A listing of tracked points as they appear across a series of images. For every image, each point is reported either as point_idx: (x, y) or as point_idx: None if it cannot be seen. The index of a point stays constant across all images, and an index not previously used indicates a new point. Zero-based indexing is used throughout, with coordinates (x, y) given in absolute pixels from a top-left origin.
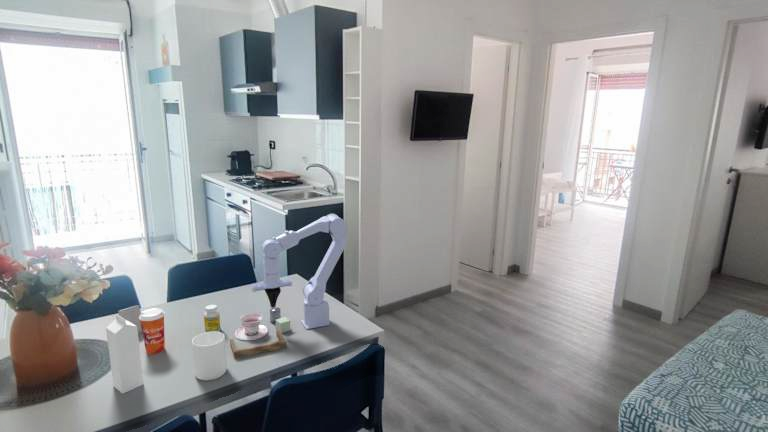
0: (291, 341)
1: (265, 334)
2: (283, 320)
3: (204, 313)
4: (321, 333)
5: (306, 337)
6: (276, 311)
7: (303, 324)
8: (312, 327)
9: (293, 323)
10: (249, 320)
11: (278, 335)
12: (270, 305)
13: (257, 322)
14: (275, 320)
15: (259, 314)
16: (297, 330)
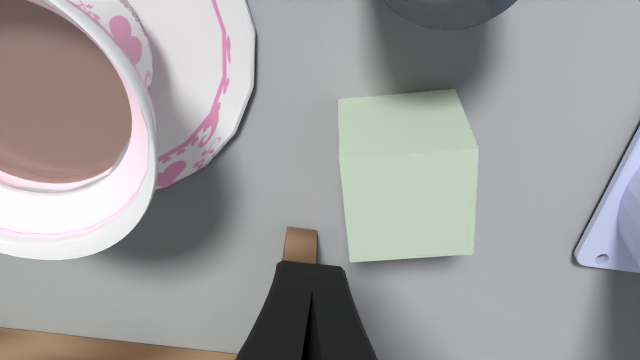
0: None
1: (200, 168)
2: (412, 220)
3: None
4: (615, 346)
5: (485, 340)
6: (439, 24)
7: (614, 177)
8: (627, 271)
9: (563, 80)
10: (5, 6)
11: None
12: (276, 270)
13: (79, 234)
14: (339, 155)
15: (131, 86)
16: (499, 224)
